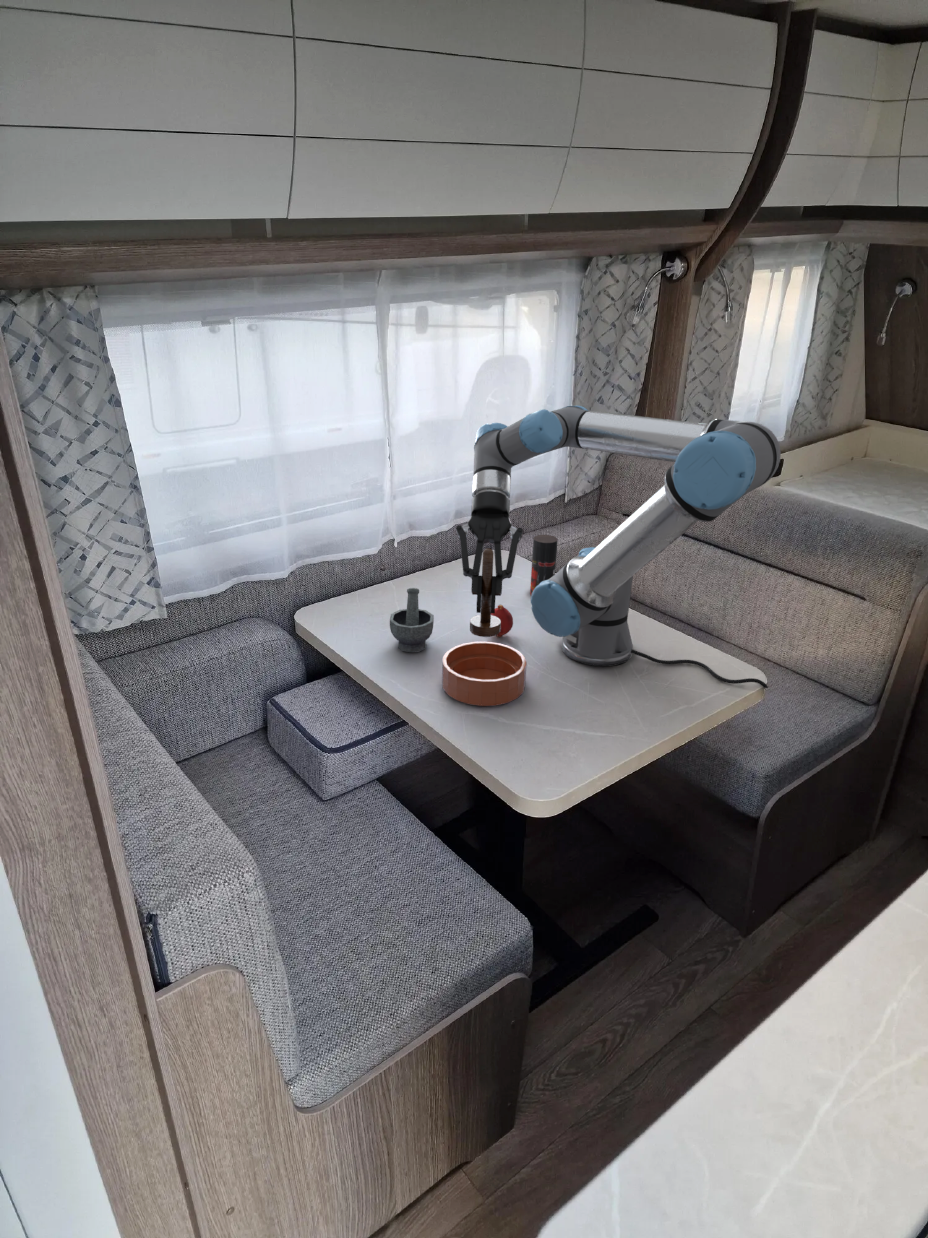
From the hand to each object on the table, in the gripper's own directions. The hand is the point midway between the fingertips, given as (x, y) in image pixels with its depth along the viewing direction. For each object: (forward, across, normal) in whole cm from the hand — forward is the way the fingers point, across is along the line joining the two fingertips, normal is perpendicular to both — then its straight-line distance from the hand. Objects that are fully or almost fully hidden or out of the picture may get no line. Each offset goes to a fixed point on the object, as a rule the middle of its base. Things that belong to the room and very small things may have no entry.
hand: (485, 610), depth 153 cm
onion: (-5, -3, -32) cm, 33 cm away
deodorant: (-23, -14, -50) cm, 56 cm away
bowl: (+11, 0, -16) cm, 19 cm away
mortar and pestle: (-1, +16, -28) cm, 33 cm away
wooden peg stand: (+2, 0, -7) cm, 7 cm away
